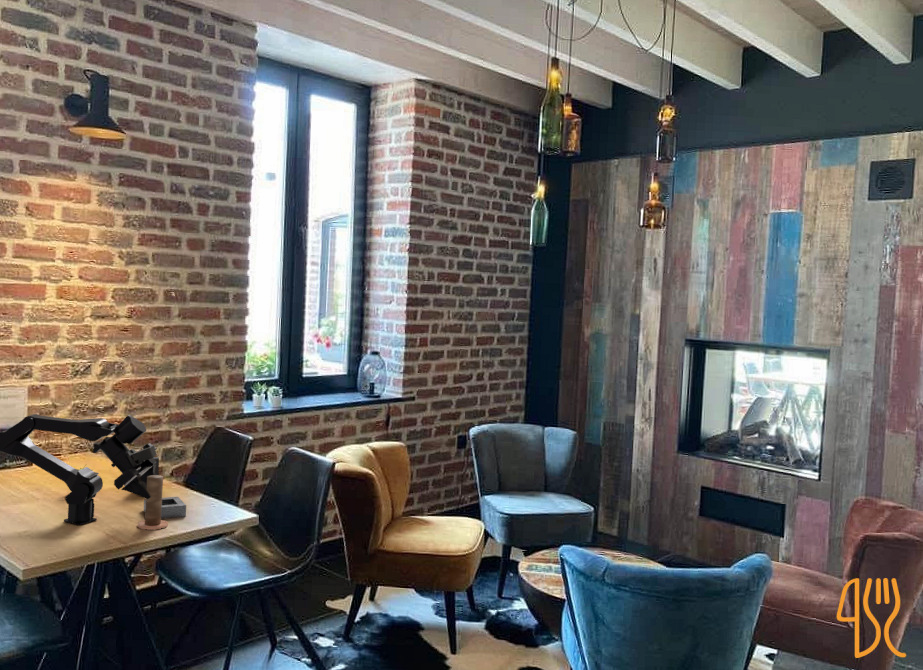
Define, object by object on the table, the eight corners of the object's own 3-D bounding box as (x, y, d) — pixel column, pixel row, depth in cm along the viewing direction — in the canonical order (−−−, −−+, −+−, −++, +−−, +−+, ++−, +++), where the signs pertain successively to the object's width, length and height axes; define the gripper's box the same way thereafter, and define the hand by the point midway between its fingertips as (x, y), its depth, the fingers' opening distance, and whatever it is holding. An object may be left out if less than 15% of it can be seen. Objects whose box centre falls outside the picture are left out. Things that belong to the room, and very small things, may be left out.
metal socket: (151, 519, 238) (151, 508, 237) (143, 510, 246) (144, 499, 246) (185, 516, 243) (186, 505, 243) (177, 507, 252) (177, 496, 252)
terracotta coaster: (152, 532, 227) (153, 529, 227) (130, 526, 230) (131, 524, 230) (174, 524, 235) (174, 522, 234) (152, 519, 238) (152, 517, 238)
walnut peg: (146, 526, 229) (149, 479, 228) (143, 522, 233) (145, 475, 232) (162, 525, 232) (164, 478, 231) (158, 520, 235) (161, 474, 234)
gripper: (127, 442, 221) (165, 484, 222) (151, 430, 240) (185, 468, 241) (97, 468, 221) (135, 509, 222) (123, 454, 240) (158, 492, 241)
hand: (155, 493), depth 232 cm, fingers open, 9 cm apart
